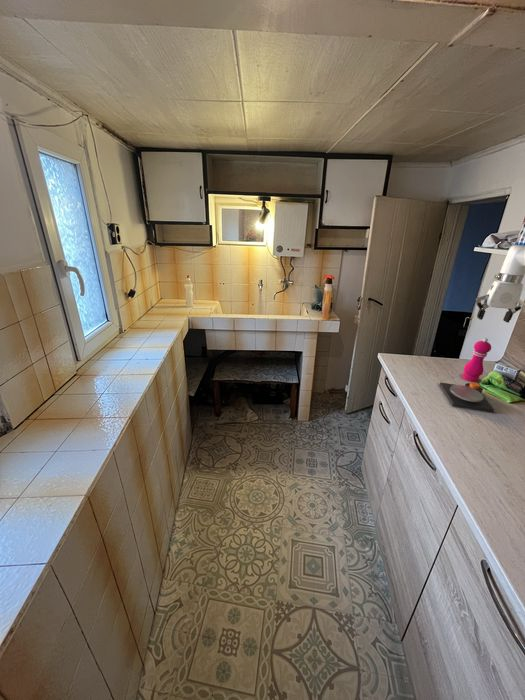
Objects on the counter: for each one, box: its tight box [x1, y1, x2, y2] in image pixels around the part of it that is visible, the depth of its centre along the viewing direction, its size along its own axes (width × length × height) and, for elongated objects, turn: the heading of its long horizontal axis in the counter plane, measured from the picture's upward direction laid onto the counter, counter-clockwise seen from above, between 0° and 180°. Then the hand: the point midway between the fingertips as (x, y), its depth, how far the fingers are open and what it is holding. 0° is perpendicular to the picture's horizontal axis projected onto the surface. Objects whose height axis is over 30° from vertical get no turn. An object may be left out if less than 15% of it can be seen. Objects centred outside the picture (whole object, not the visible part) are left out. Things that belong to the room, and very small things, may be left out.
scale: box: [438, 382, 495, 414], centre depth 113 cm, size 15×16×3 cm
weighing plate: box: [450, 384, 485, 402], centre depth 111 cm, size 11×11×1 cm
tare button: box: [469, 381, 481, 390], centre depth 116 cm, size 3×3×2 cm
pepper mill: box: [461, 337, 492, 383], centre depth 125 cm, size 7×7×20 cm
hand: (492, 320), depth 117 cm, fingers open, 9 cm apart
